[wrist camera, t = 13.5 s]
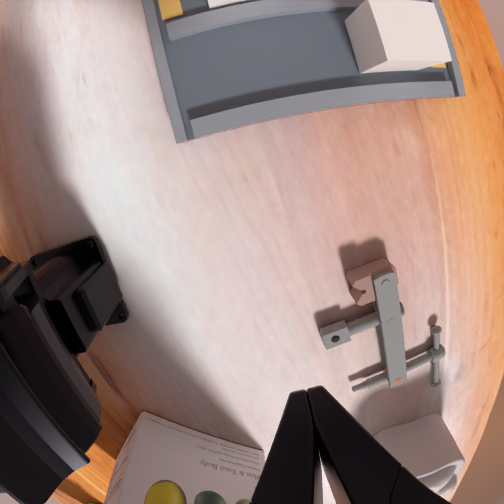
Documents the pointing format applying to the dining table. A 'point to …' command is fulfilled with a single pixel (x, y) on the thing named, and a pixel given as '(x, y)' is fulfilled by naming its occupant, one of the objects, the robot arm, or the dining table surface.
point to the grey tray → (272, 63)
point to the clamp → (382, 324)
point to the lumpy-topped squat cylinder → (425, 451)
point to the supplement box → (182, 467)
